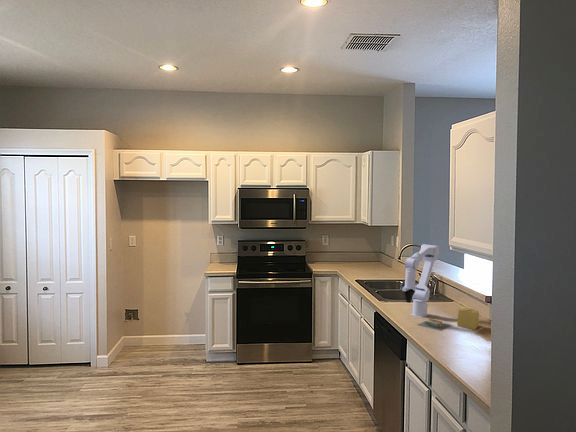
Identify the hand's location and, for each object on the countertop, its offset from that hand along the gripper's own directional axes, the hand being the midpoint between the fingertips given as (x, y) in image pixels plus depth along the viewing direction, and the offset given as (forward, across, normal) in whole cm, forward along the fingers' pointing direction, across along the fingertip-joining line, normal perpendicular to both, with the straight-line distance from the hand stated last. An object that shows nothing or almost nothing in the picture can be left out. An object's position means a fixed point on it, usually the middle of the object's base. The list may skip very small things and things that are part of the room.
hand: (408, 302), depth 275 cm
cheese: (+11, +16, -29) cm, 35 cm away
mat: (+10, +1, -16) cm, 19 cm away
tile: (+9, +3, -16) cm, 18 cm away
